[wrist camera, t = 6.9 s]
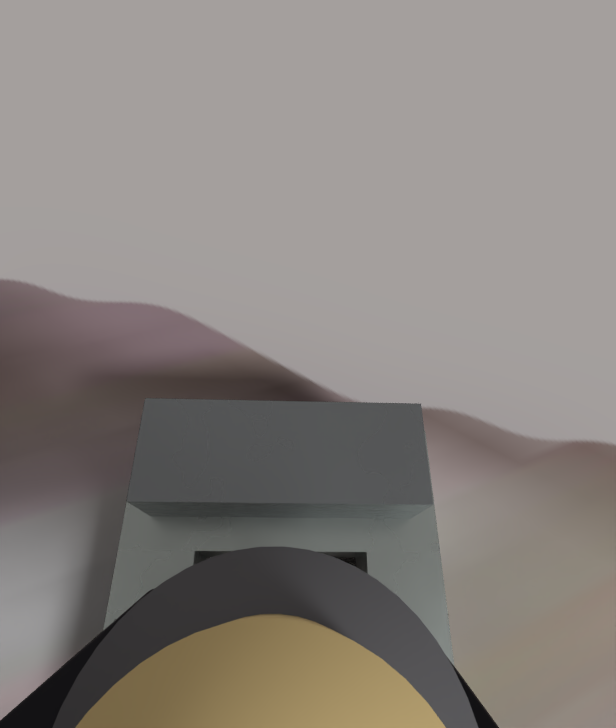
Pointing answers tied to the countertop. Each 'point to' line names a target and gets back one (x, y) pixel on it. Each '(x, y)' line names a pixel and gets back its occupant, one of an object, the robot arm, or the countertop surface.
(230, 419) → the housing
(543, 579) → the countertop surface
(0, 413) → the countertop surface
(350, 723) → the plug
